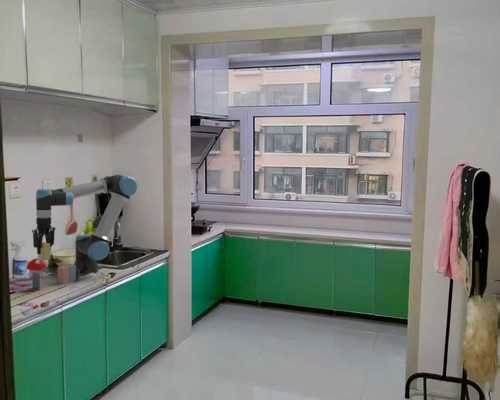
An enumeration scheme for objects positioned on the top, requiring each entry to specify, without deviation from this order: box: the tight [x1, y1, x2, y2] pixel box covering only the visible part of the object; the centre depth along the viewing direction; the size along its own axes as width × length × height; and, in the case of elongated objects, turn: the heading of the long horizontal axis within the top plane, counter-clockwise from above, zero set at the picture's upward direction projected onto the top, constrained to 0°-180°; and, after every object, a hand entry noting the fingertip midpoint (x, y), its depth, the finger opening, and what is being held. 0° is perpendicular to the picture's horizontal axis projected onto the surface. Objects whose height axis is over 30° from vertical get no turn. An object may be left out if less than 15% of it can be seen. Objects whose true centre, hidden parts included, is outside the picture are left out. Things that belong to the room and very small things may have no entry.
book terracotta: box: [57, 265, 71, 285], centre depth 262 cm, size 4×5×9 cm
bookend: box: [27, 272, 41, 292], centre depth 247 cm, size 4×5×9 cm
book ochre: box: [41, 241, 51, 262], centre depth 260 cm, size 4×5×9 cm
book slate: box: [63, 263, 77, 283], centre depth 266 cm, size 4×5×9 cm
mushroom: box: [25, 257, 48, 280], centre depth 272 cm, size 11×11×12 cm
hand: (44, 258), depth 260 cm, fingers closed on book ochre, 4 cm apart
